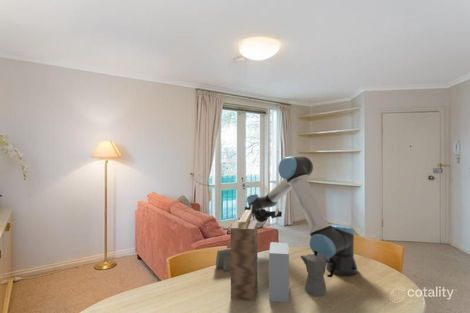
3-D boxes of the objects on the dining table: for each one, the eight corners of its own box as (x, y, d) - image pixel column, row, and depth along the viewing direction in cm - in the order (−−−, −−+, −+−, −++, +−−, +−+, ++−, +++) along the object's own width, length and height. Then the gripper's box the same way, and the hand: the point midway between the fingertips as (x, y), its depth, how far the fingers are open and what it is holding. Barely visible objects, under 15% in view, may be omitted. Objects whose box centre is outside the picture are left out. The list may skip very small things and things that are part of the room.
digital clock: (244, 263, 154) (244, 244, 154) (247, 269, 145) (247, 249, 145) (215, 265, 151) (215, 245, 151) (216, 272, 142) (216, 251, 142)
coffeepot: (298, 293, 120) (298, 252, 120) (301, 284, 129) (301, 245, 128) (336, 300, 114) (336, 257, 114) (337, 290, 123) (337, 250, 123)
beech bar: (251, 216, 137) (251, 210, 137) (245, 229, 113) (245, 221, 113) (245, 215, 137) (245, 209, 137) (238, 228, 114) (238, 221, 114)
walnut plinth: (257, 285, 128) (257, 220, 127) (254, 301, 114) (254, 228, 114) (236, 283, 130) (236, 219, 129) (230, 299, 116) (230, 227, 115)
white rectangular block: (288, 286, 127) (288, 243, 126) (288, 302, 113) (288, 254, 112) (270, 285, 128) (270, 242, 128) (269, 301, 114) (269, 253, 114)
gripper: (281, 225, 161) (288, 219, 141) (239, 219, 162) (239, 212, 142) (282, 212, 163) (288, 204, 144) (240, 207, 165) (241, 198, 145)
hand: (264, 208), depth 143 cm, fingers open, 13 cm apart
